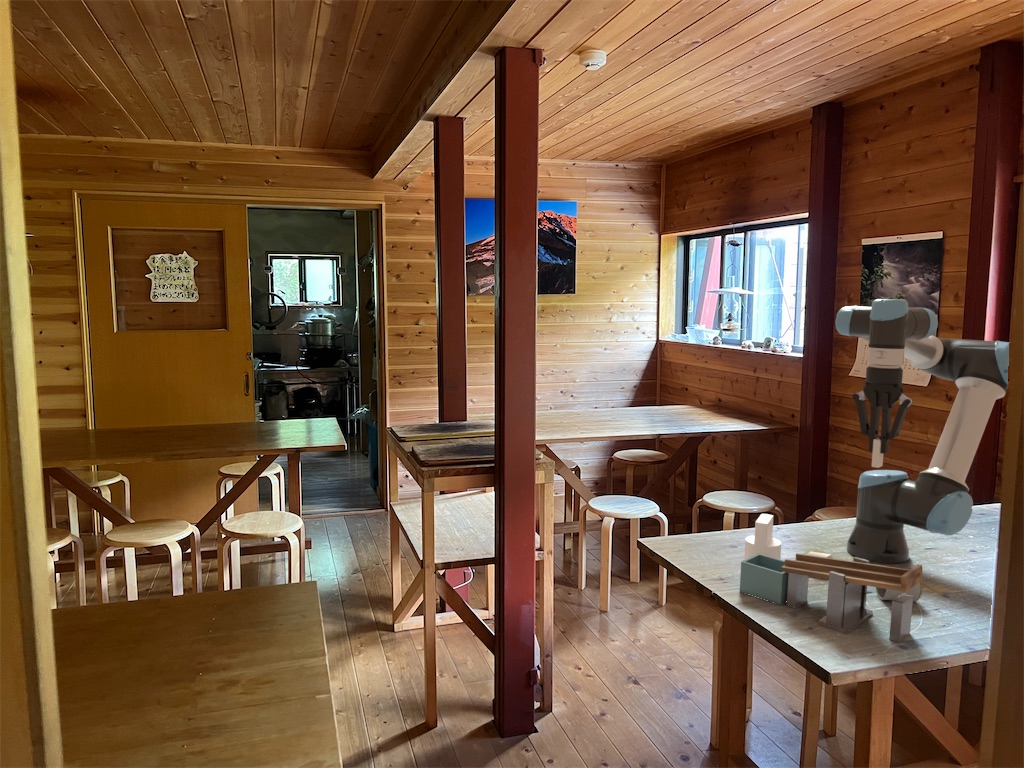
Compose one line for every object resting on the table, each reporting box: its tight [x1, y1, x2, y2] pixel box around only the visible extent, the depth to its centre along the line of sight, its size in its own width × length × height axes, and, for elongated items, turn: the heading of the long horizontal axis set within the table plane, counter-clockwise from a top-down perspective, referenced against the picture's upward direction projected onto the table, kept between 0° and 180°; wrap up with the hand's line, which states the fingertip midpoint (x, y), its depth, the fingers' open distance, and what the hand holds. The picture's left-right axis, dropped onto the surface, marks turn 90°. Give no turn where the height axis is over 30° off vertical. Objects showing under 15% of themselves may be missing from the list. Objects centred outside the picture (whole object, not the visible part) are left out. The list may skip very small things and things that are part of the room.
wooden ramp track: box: [781, 552, 924, 592], centre depth 161 cm, size 15×26×3 cm, turn 44°
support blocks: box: [786, 556, 914, 644], centre depth 159 cm, size 14×24×12 cm, turn 44°
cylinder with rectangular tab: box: [743, 513, 782, 561], centre depth 193 cm, size 9×9×12 cm
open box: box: [739, 553, 789, 606], centre depth 173 cm, size 8×10×8 cm
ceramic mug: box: [875, 580, 923, 603], centre depth 172 cm, size 11×8×8 cm
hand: (877, 466), depth 172 cm, fingers closed
